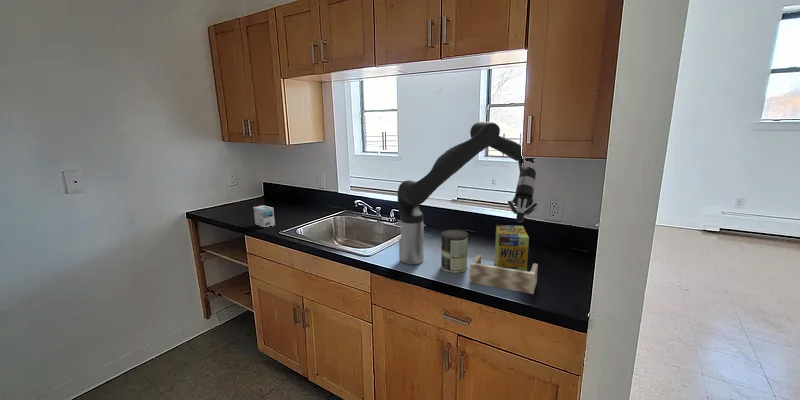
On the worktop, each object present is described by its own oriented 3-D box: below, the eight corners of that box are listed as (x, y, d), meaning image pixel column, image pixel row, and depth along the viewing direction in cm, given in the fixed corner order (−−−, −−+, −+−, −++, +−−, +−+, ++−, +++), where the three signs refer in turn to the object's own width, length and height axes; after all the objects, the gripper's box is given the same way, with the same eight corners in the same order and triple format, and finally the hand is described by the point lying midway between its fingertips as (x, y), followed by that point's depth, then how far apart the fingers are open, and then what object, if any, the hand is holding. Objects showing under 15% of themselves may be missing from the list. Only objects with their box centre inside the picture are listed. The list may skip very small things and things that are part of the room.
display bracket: (469, 282, 131) (470, 264, 129) (476, 272, 139) (477, 255, 137) (533, 294, 121) (534, 274, 120) (536, 282, 129) (537, 263, 128)
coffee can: (437, 270, 141) (437, 235, 138) (445, 261, 150) (446, 228, 147) (463, 274, 137) (464, 238, 134) (470, 264, 146) (471, 231, 143)
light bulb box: (275, 225, 206) (273, 207, 204) (264, 228, 201) (262, 209, 199) (265, 222, 213) (263, 204, 210) (254, 225, 208) (252, 207, 205)
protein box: (497, 276, 135) (499, 236, 132) (494, 260, 150) (496, 224, 146) (527, 278, 133) (529, 237, 130) (521, 262, 148) (523, 225, 145)
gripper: (509, 182, 164) (502, 215, 156) (540, 184, 159) (535, 218, 151) (510, 192, 170) (504, 224, 162) (541, 194, 164) (536, 227, 156)
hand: (519, 221), depth 156 cm, fingers closed
